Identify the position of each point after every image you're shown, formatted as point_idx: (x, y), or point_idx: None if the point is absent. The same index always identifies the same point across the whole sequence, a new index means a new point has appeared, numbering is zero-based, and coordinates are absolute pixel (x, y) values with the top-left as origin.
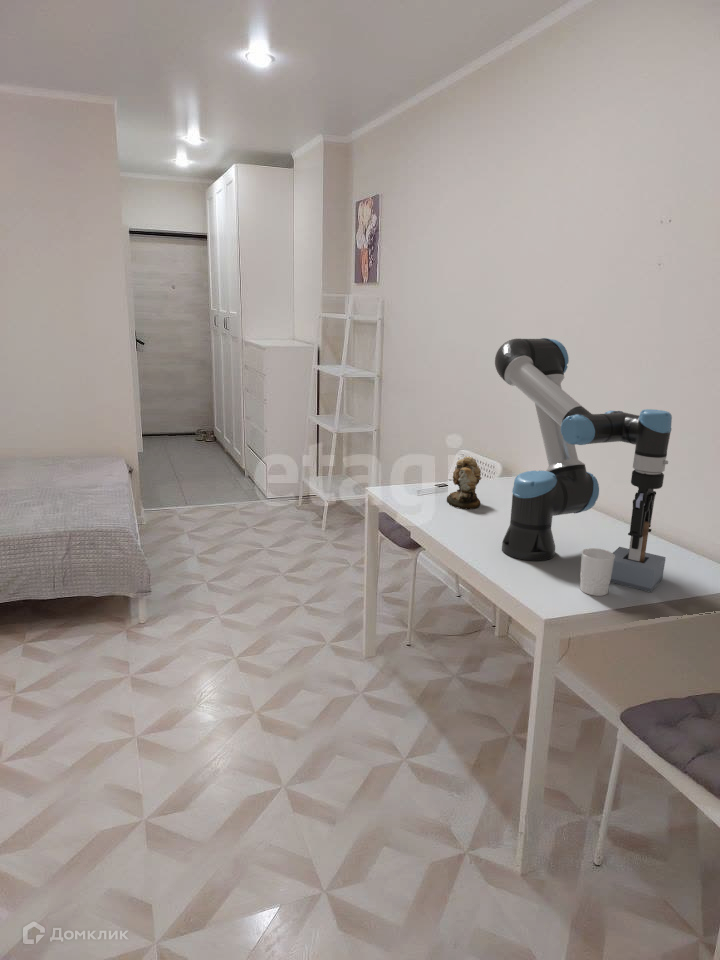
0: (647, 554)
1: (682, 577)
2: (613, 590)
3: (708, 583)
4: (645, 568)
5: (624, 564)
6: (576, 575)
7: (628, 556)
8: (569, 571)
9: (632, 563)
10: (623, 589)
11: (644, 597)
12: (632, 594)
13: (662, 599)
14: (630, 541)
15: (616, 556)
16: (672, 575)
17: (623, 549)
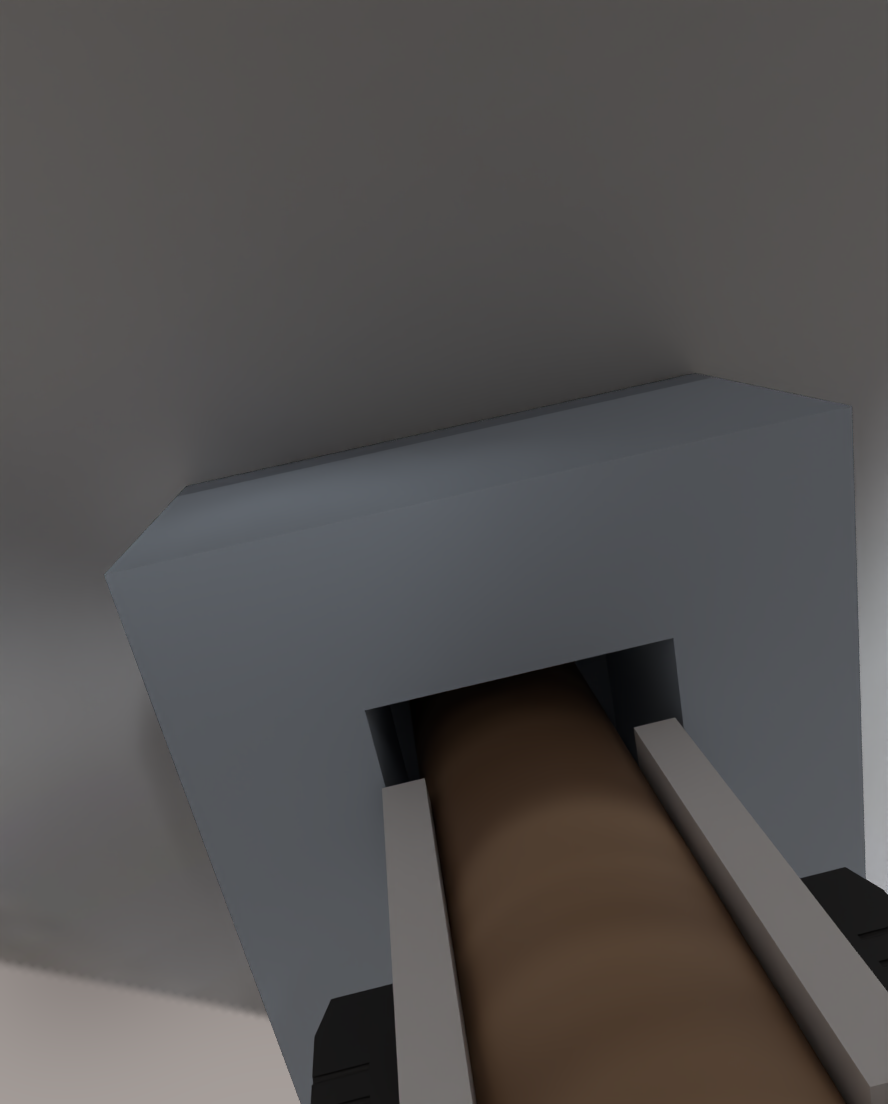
0: (803, 817)
1: (877, 876)
2: (34, 693)
3: None
4: (276, 1037)
5: (199, 814)
6: (14, 179)
7: (469, 750)
8: (46, 22)
9: (288, 884)
10: (154, 734)
11: (160, 921)
12: (122, 837)
13: (260, 1009)
14: (529, 935)
15: (363, 614)
16: (866, 812)
17: (767, 514)
